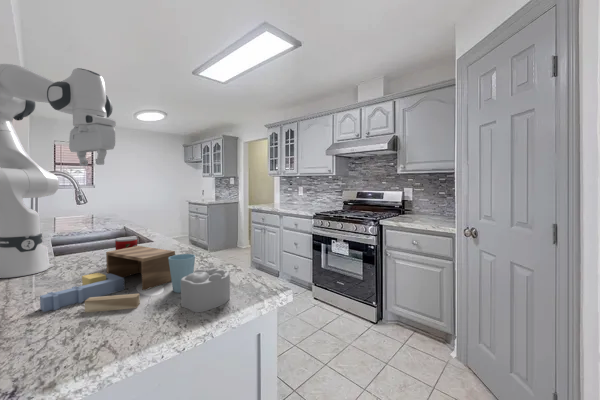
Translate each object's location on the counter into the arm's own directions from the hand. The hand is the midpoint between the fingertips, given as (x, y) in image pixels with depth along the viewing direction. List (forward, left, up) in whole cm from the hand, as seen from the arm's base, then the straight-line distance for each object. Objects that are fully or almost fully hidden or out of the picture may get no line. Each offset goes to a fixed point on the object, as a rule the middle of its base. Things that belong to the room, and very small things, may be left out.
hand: (91, 165), depth 92 cm
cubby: (+9, +9, -39) cm, 41 cm away
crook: (+7, -7, -39) cm, 41 cm away
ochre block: (+4, -2, -39) cm, 40 cm away
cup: (+29, +10, -39) cm, 50 cm away
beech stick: (+24, -8, -39) cm, 47 cm away
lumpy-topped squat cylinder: (+43, +7, -39) cm, 59 cm away
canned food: (-16, +20, -39) cm, 47 cm away
